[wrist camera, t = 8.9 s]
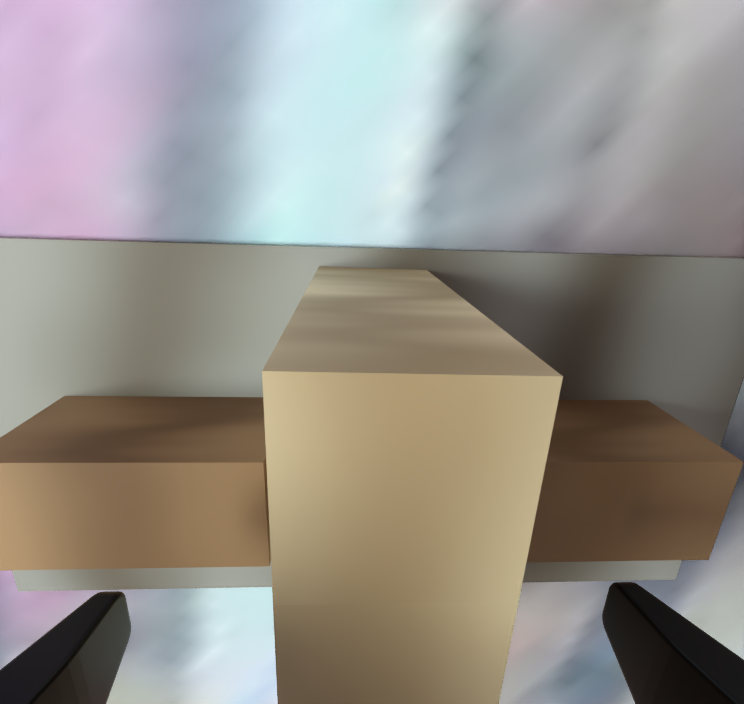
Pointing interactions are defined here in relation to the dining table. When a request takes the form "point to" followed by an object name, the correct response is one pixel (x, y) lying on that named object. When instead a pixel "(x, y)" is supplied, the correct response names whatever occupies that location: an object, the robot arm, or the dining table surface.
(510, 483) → the birch plate
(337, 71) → the dining table surface
